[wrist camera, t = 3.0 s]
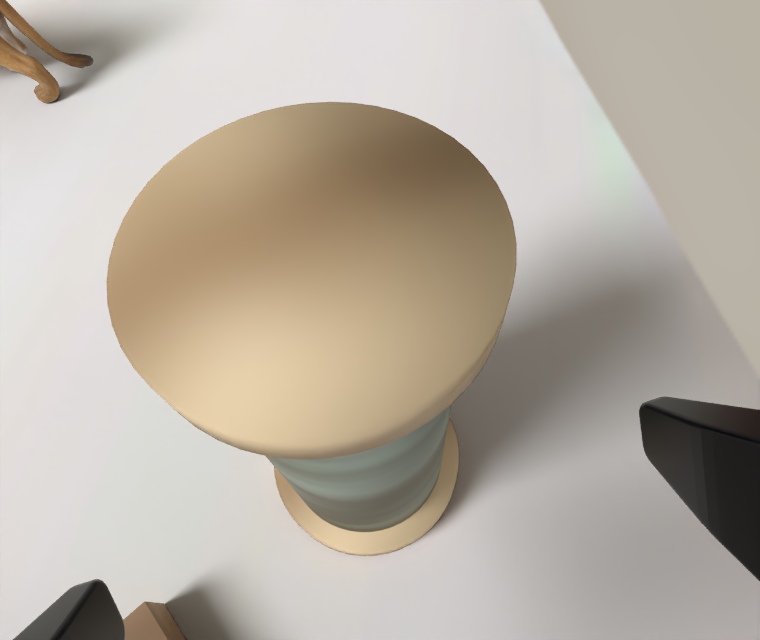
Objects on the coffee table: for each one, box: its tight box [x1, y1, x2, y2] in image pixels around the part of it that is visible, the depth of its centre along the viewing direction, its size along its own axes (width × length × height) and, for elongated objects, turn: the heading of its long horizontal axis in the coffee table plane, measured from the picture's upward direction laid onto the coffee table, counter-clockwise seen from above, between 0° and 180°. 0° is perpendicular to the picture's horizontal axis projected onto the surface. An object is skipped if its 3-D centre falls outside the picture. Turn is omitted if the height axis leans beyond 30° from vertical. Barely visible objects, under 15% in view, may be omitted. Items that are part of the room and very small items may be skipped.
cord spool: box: [107, 102, 516, 556], centre depth 14 cm, size 6×6×13 cm
